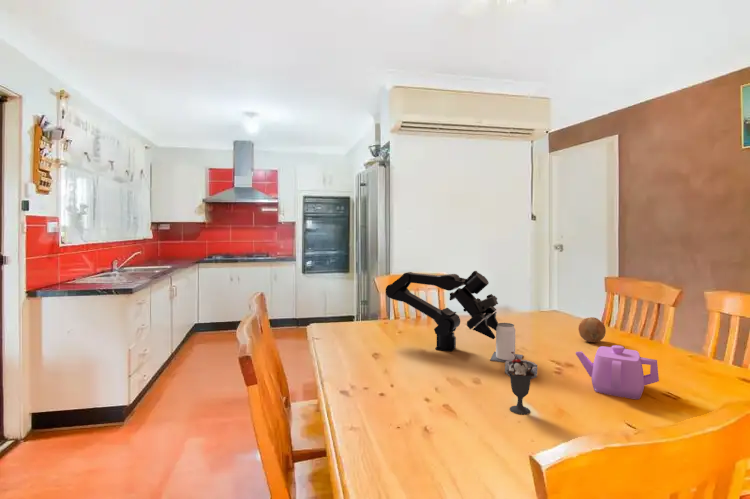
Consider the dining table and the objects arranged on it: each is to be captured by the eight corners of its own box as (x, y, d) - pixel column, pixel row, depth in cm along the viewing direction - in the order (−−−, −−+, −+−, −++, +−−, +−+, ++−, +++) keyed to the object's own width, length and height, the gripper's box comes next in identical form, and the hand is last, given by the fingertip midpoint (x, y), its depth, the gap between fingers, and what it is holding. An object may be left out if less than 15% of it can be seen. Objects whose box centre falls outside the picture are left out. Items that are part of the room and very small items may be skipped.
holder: (503, 376, 129) (503, 366, 129) (507, 366, 138) (507, 357, 138) (536, 380, 126) (536, 371, 125) (537, 370, 134) (538, 361, 134)
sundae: (501, 405, 109) (502, 349, 108) (526, 404, 109) (527, 348, 108) (512, 416, 102) (513, 357, 101) (538, 415, 103) (539, 356, 102)
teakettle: (616, 403, 109) (617, 357, 109) (571, 380, 126) (572, 340, 125) (667, 396, 114) (669, 352, 113) (617, 375, 130) (618, 336, 129)
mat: (490, 360, 145) (490, 359, 145) (494, 352, 154) (494, 351, 154) (520, 364, 140) (520, 363, 140) (522, 355, 150) (522, 354, 150)
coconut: (598, 338, 172) (599, 314, 171) (610, 345, 162) (610, 320, 161) (574, 338, 172) (574, 314, 172) (584, 345, 163) (584, 320, 162)
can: (518, 360, 143) (518, 326, 143) (500, 361, 142) (501, 327, 142) (509, 354, 150) (510, 322, 149) (492, 355, 149) (493, 322, 148)
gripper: (476, 291, 142) (508, 327, 137) (491, 284, 158) (520, 316, 153) (454, 311, 147) (484, 346, 142) (470, 303, 163) (498, 334, 157)
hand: (498, 335), depth 148 cm, fingers open, 9 cm apart
